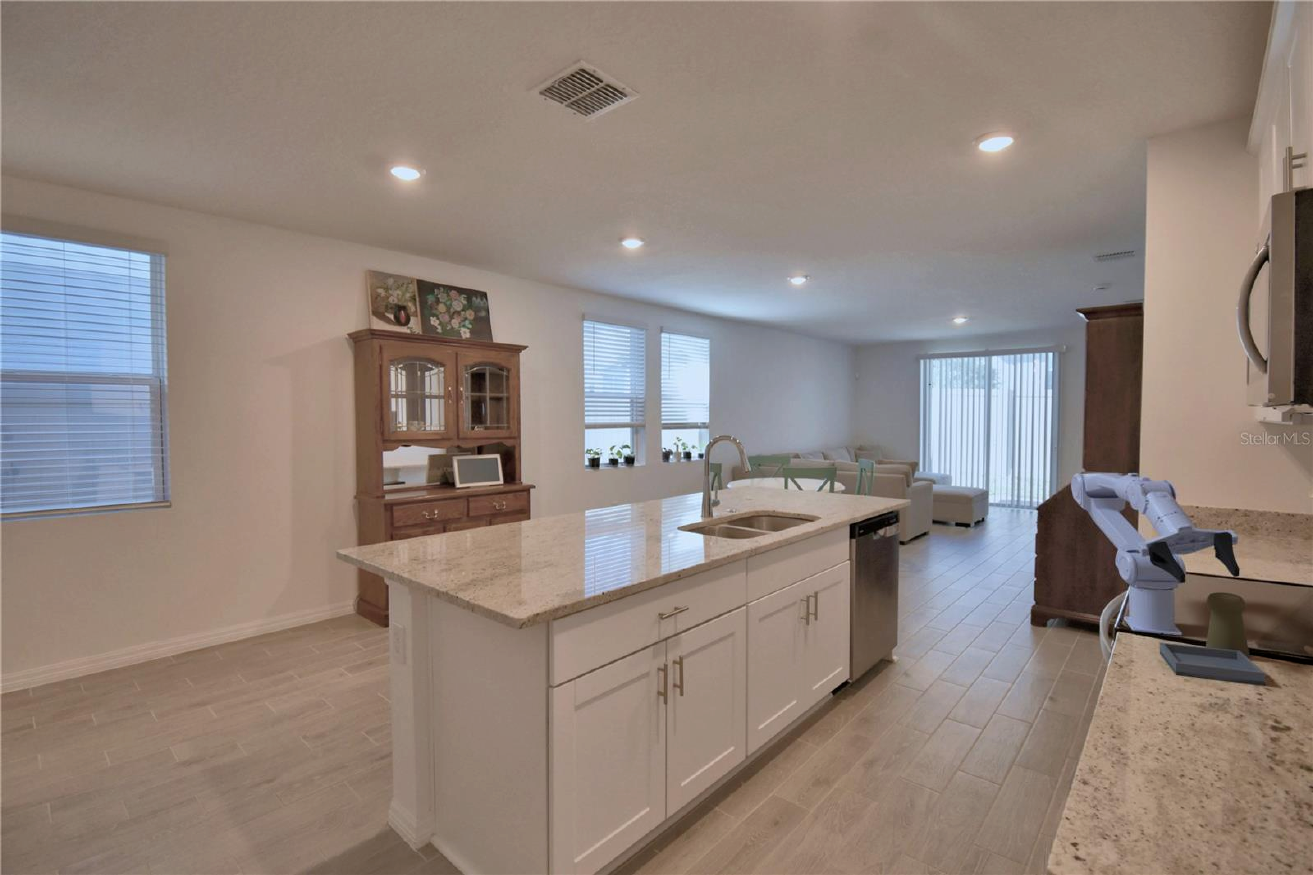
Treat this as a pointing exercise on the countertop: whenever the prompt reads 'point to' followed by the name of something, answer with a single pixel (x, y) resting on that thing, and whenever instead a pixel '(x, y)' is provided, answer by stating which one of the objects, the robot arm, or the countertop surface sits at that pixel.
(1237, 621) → the cork
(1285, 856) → the countertop surface
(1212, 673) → the tray
